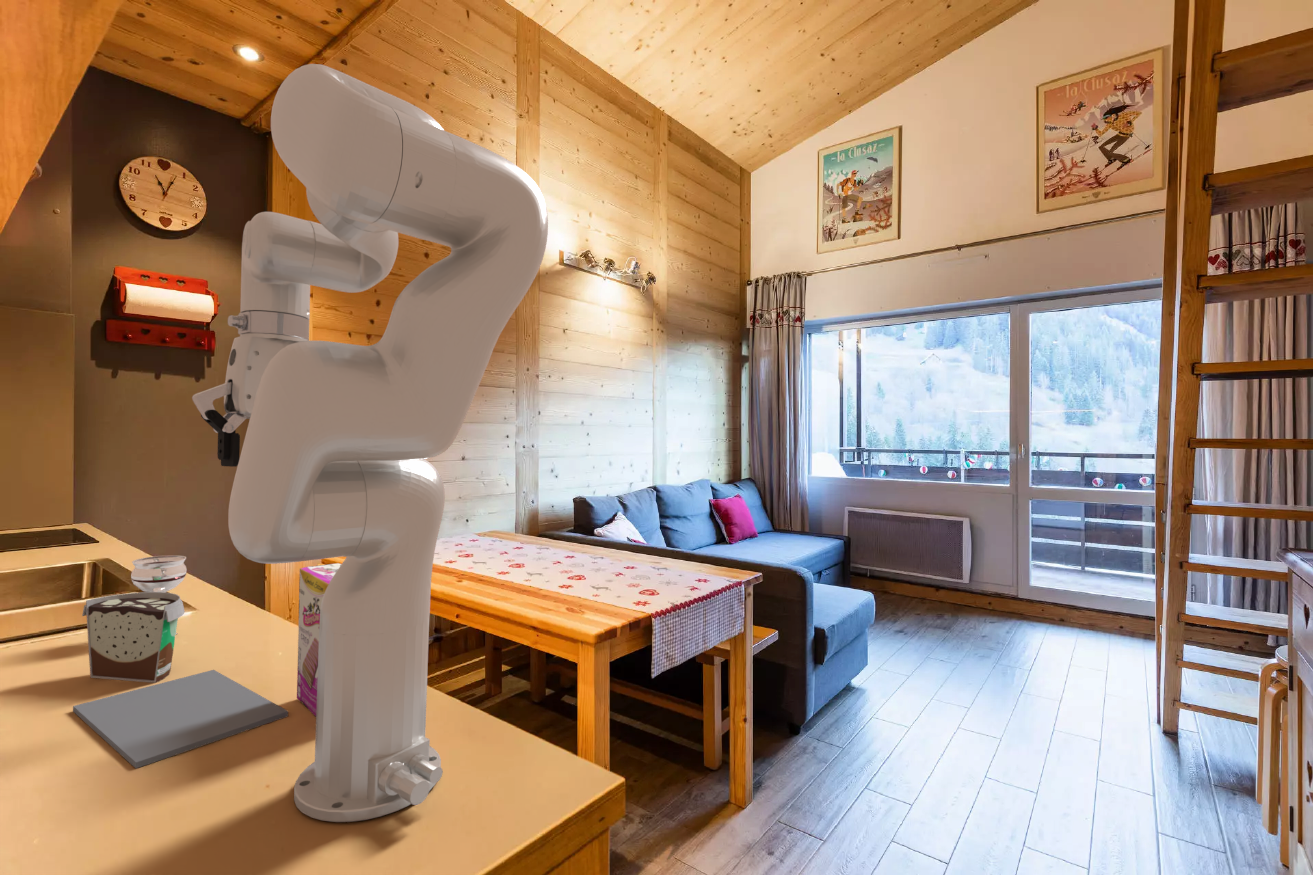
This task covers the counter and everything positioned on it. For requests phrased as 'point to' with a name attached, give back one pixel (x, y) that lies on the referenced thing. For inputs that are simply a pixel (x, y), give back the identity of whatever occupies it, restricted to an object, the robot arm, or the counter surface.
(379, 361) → the robot arm
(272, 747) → the counter surface
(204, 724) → the mat
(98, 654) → the food container
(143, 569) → the wineglass
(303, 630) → the candy bar box
